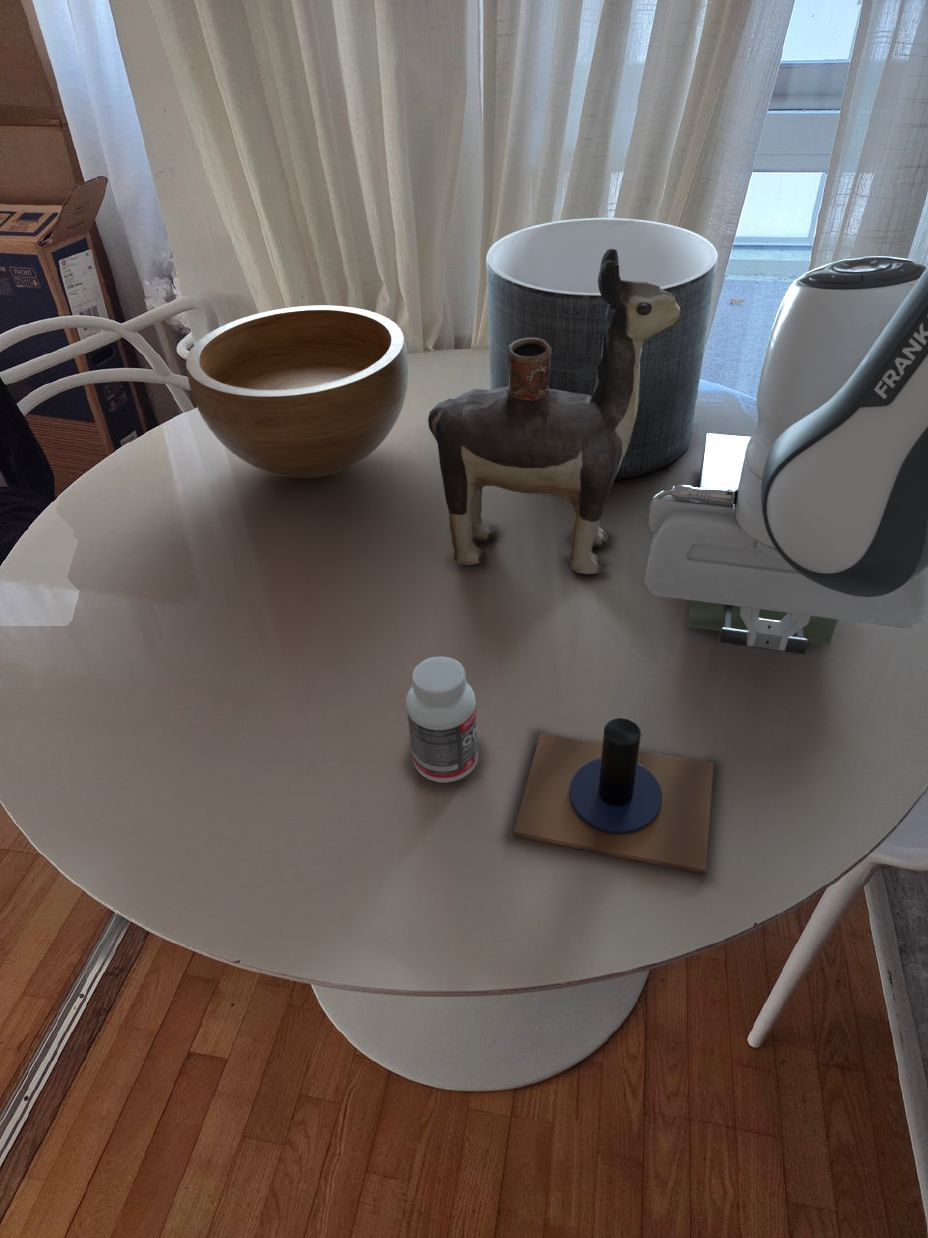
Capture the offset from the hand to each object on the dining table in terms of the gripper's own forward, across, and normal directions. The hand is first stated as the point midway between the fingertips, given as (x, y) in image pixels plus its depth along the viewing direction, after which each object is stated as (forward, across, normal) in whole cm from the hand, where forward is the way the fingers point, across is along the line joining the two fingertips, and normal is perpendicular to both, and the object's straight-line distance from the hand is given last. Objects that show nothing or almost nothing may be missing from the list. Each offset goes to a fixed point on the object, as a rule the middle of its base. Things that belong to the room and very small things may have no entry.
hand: (765, 643), depth 69 cm
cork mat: (+7, -10, -13) cm, 18 cm away
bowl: (+7, -52, +30) cm, 61 cm away
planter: (+7, -20, +44) cm, 49 cm away
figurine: (+7, -22, +18) cm, 29 cm away
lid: (+6, -10, -13) cm, 17 cm away
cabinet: (+7, 0, +28) cm, 29 cm away
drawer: (+6, 0, +12) cm, 14 cm away
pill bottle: (+7, -24, -12) cm, 28 cm away
